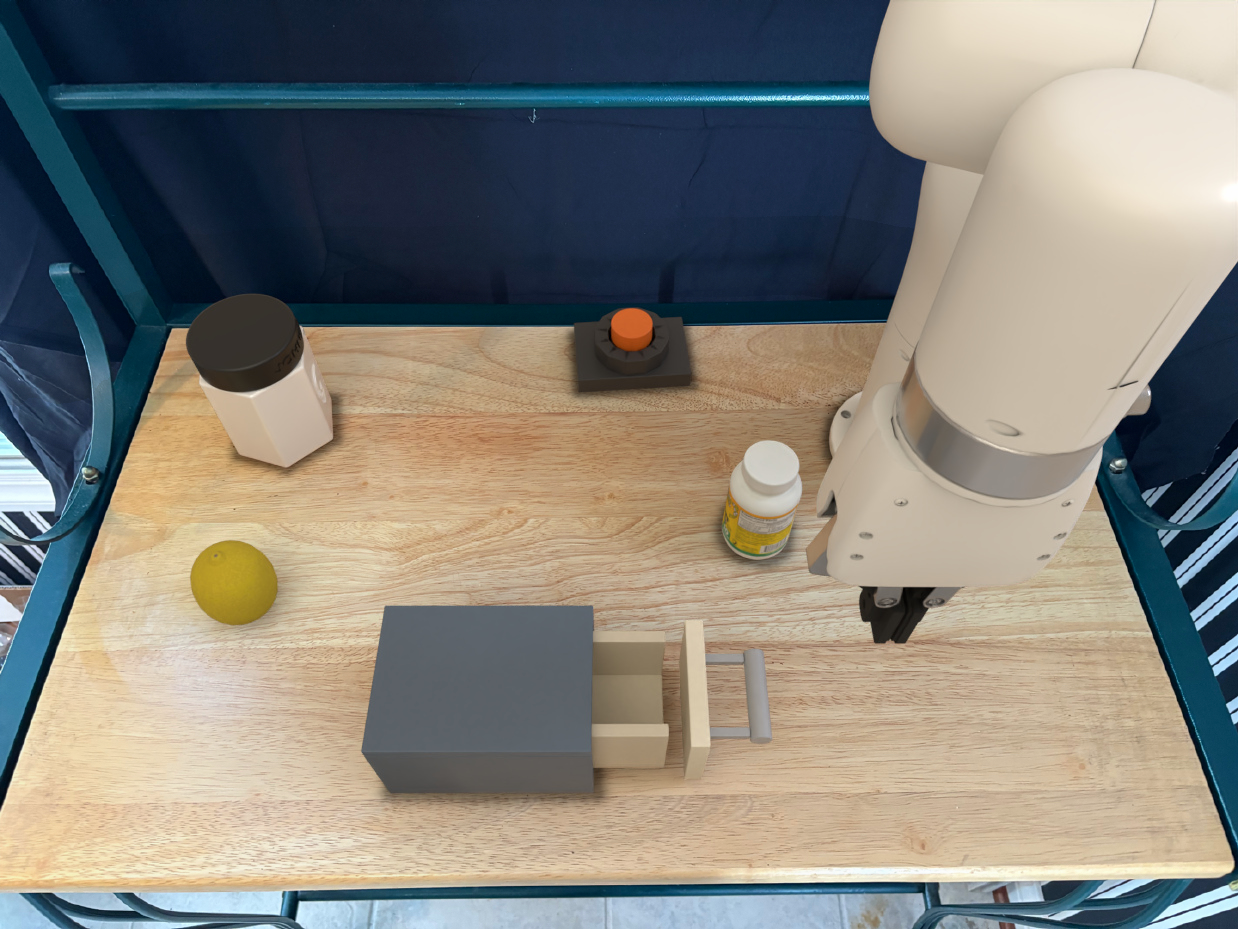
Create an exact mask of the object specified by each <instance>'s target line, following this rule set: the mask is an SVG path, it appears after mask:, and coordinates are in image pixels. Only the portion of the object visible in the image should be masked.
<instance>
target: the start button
mask: <svg viewBox="0 0 1238 929" xmlns="http://www.w3.org/2000/svg"><path fill="white" fill-rule="evenodd" d="M628 308H629V309H624V310H621V311H619V312H618V313H616V314H615V315H614V317H613V318H612V321H611V338H612V341H613V343H614V344H615V346H617V347H618V348H620V349H622V350H625V351H639V350H642V349H644V348H646V347H647V346H648V345H649V344H650V342H651V340H652V326H653V323H652V319H651V317H650V316H649V315H648V314H647V313H646V312H644V311H642V310H640V309H635V307H628Z"/></svg>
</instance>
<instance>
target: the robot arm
mask: <svg viewBox="0 0 1238 929" xmlns="http://www.w3.org/2000/svg"><path fill="white" fill-rule="evenodd" d="M871 62H872V63H871V68H870V75H869V76H870V77H869V85H868V86H869V87H868V90H869V91H868V94H869V95H868V96H869V98H868V100H869V106H870V111H871V117H872V120H873V123H874V125H875V127H876V129H877V131H878V132H879V134H880V135H881V136H882V137H883V139H884V140H886V142H888V143H889V144H890V145H891V146H892V147H893V148H894V149H896V150H898V151H899V152H901V153H903V154H905V155H907V156H909V157H911V158H914V159H917V160H921V161H924V162H926V163H925V167H924V172H923V175H922V179H921V184H920V193H919V199H918V207H917V212H916V219H915V225H914V231H913V236H912V241H911V245H910V249H909V253H908V256H907V259H906V263H905V266H904V269H903V273H902V276H901V279H900V282H899V285H898V288H897V291H896V294H895V296H894V300H893V303H892V306H891V309H890V311H889V315H888V317H887V320H886V322H885V326H884V329H883V331H882V335H881V338H880V341H879V344H878V347H877V349H876V352H875V355H874V358H873V361H872V363H871V367H870V370H869V372H868V375H867V378H866V380H865V384H864V386H863V389H862V391H859V392H857V393H855V394H853V395H852V396H850V397H849V398H848V399H846V400H845V401H844V402H843V404H841V406H840V407H839V408H838V409H837V411H836V413H835V415H834V416H833V420H832V421H831V425H830V429H829V436H828V444H829V451H830V455H831V457H832V459H831V461H830V463H829V465H828V467H827V470H826V472H825V474H824V476H823V478H822V481H821V482H820V483H821V484H820V486H819V488H818V491H817V494H816V499H815V508H816V509H815V512H816V518H818V519H821V518H822V519H824V518H825V519H827V518H829V520H828V522H827V523H826V524H825V525H824V526H823V527H822V528H821V530H820V531H819V532H818V533H817V534H816V536H815V537H814V538H813V539H812V540H811V541H810V543H809V544H808V545H807V547H806V548H805V555H806V561H807V562H806V563H807V568H808V573H810V574H811V575H815V576H822V577H828V578H829V577H830V578H832V579H834V580H835V581H837V582H840V583H842V584H845V585H848V586H855V587H856V586H857V587H858V588H860V589H862V590H861V592H860V594H859V598H858V607H859V614H860V619H861V621H862V623H870V628H871V634H872V640H873V643H874V644H875V645H876V644H878V645H879V644H881V645H882V644H886V643H887V642H890V641H891V642H893V643H894V644H901V645H902V644H903V645H904V644H905V645H906V643H907V641H908V640H909V638H910V637H911V635H912V634H913V632H914V631H915V629H916V627H917V625H918V624H919V623H921V622H922V620H923V619H924V617H925V616H926V614H927V613H928V611H929V609H936V608H940V607H943V606H945V605H946V604H948V603H949V601H950V600H951V599H952V598H953V597H955V595H956V594H958V593H959V591H960V590H961V589H964V588H980V587H981V588H983V587H985V588H986V587H988V588H989V587H1007V586H1015V585H1019V584H1024V583H1027V582H1029V581H1030V580H1032V579H1033V578H1034V577H1036V576H1037V575H1038V574H1040V573H1041V572H1042V571H1043V570H1044V568H1045V567H1047V565H1049V564H1050V562H1051V561H1052V560H1053V559H1054V557H1055V556H1056V554H1057V553H1058V552H1059V551H1060V549H1061V548H1062V547H1063V545H1064V544H1065V542H1066V540H1067V539H1068V537H1069V536H1070V534H1071V533H1072V531H1073V530H1074V528H1075V526H1076V524H1077V522H1078V520H1079V518H1080V517H1081V515H1082V513H1083V512H1084V510H1085V507H1086V505H1087V503H1088V501H1089V499H1090V496H1091V494H1092V491H1093V488H1094V486H1095V483H1096V480H1097V476H1098V474H1099V469H1100V467H1101V462H1102V459H1103V449H1104V448H1103V446H1104V444H1105V443H1106V442H1107V440H1108V439H1109V438H1110V436H1111V435H1112V433H1114V431H1115V429H1116V428H1117V426H1118V425H1119V424H1120V422H1121V421H1122V420H1123V419H1125V418H1126V417H1127V416H1143V415H1144V414H1146V413H1147V412H1148V410H1149V408H1150V406H1151V402H1152V401H1151V400H1152V391H1151V388H1150V386H1149V383H1150V381H1151V380H1152V379H1153V377H1154V376H1155V374H1156V373H1157V371H1158V370H1159V369H1160V368H1161V366H1162V365H1163V363H1164V362H1165V360H1166V359H1168V357H1169V356H1170V354H1171V353H1172V351H1173V350H1174V349H1175V348H1176V347H1177V345H1178V344H1179V342H1180V341H1181V339H1182V338H1183V336H1184V335H1185V334H1186V333H1187V331H1188V330H1189V328H1190V327H1191V326H1192V324H1193V323H1194V322H1195V320H1196V319H1197V317H1198V316H1199V315H1200V314H1201V312H1202V311H1203V309H1204V308H1205V307H1206V305H1207V304H1208V302H1209V301H1210V300H1211V298H1212V297H1213V296H1214V295H1215V293H1216V292H1217V290H1218V289H1219V288H1220V286H1221V285H1222V283H1223V282H1224V281H1225V280H1226V278H1227V277H1228V275H1229V274H1230V272H1231V271H1232V270H1233V268H1234V267H1235V266H1236V264H1237V263H1238V0H889V3H888V6H887V9H886V12H885V15H884V17H883V20H882V23H881V26H880V31H879V35H878V38H877V42H876V45H875V49H874V53H873V58H872V61H871Z"/></svg>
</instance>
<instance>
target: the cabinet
mask: <svg viewBox="0 0 1238 929" xmlns="http://www.w3.org/2000/svg"><path fill="white" fill-rule="evenodd" d="M594 613H595V612H594V605H384V609H383V612H382V620H381V627H380V632H379V637H378V638H379V639H378V644H377V651H376V656H375V662H374V669H373V674H372V682H371V687H370V694H369V699H368V700H369V701H368V707H367V712H366V719H365V725H364V732H363V736H362V737H363V738H362V743H361V749H360V752H361V754H362V755H363V757H364V759H365V761H367V763H368V764H369V766H370V767H371V769H372V770H373V771H374V773H375V774H376V775H377V777H378V778H379V780H380V781H381V783H382V784H383V785H384V787H385V788H386V790H387V792H388V793H389V794H594V793H595V768H593V760H592V679H593V631H595V616H594V615H595V614H594Z"/></svg>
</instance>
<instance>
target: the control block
mask: <svg viewBox="0 0 1238 929" xmlns="http://www.w3.org/2000/svg"><path fill="white" fill-rule="evenodd" d="M629 308H630V307H620V308H616V309H615V310H613V311H611V312H609V313H607V314H604V315H603V316H601V318H600V319H599V320H598V321H587V322H574V323H573V334H574V335H573V336H574V337H573V338H574V350H575V362H576V363H575V364H576V377H577V389H578V390H577V391H578V393H592V392H593V393H594V392H595V393H596V392H612V391H625V390H627V391H628V390H629V391H630V390H643V389H645V390H646V389H660V388H675V387H677V388H679V387H690V386H691V382H692V369H691V363H690V357H689V351H688V345H687V340H686V334H685V328H684V327H685V326H684V322H683V317H682V316H673V317H660V316H659V315H658V314H657V313H655V312H653V311H650V310H647V309H644V308H641V307H637V306H636V307H634V308H635V309H640V310H642V311H644V312H646V313H647V314H648V315H649V316H650V317H651V319H652V323H653V326H652V340H651V342H650V344H649V345H648V346H647V347H646V348H644V349H642V350H639V351H625V350H622V349H620V348H618V347H617V346H615V344H614V343H613V341H612V338H611V321H612V318H613V317H614V315H615V314H616V313H618V312H619V311H621V310H624V309H629Z"/></svg>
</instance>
